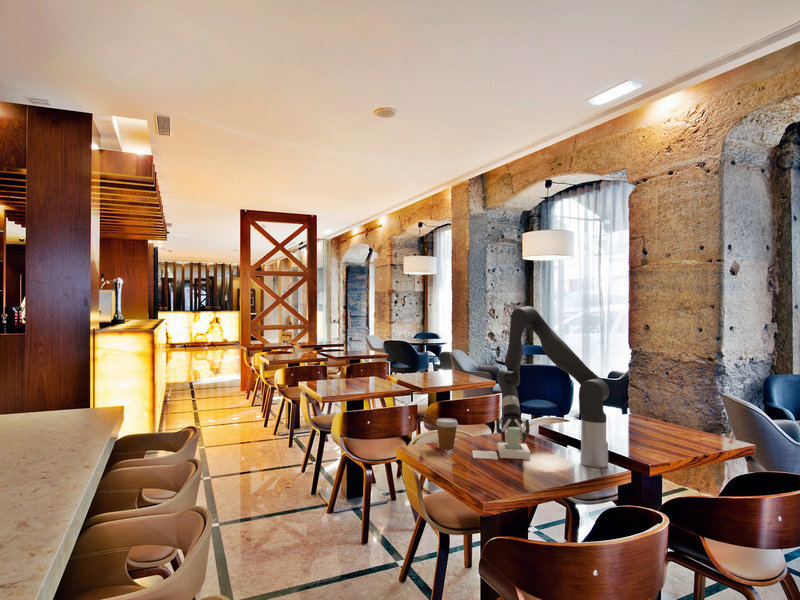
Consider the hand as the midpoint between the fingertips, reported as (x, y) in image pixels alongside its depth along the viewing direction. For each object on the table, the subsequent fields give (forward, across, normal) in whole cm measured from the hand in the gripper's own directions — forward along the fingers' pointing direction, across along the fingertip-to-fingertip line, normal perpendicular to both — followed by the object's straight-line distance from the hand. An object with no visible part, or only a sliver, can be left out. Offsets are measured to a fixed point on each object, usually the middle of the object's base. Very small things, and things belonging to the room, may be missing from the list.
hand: (513, 441), depth 193 cm
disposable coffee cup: (0, -28, +8) cm, 29 cm away
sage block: (+3, 0, +5) cm, 6 cm away
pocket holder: (+3, 0, +5) cm, 6 cm away
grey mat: (+6, -12, +2) cm, 13 cm away
